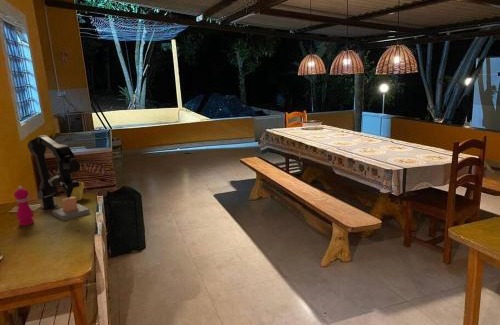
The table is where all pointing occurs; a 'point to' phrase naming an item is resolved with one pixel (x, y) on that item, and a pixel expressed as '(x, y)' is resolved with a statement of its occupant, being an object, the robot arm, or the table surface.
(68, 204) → the keyed peg
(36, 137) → the robot arm
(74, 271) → the table surface
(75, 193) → the plant pot
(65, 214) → the socket block
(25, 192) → the pink bowling pin
